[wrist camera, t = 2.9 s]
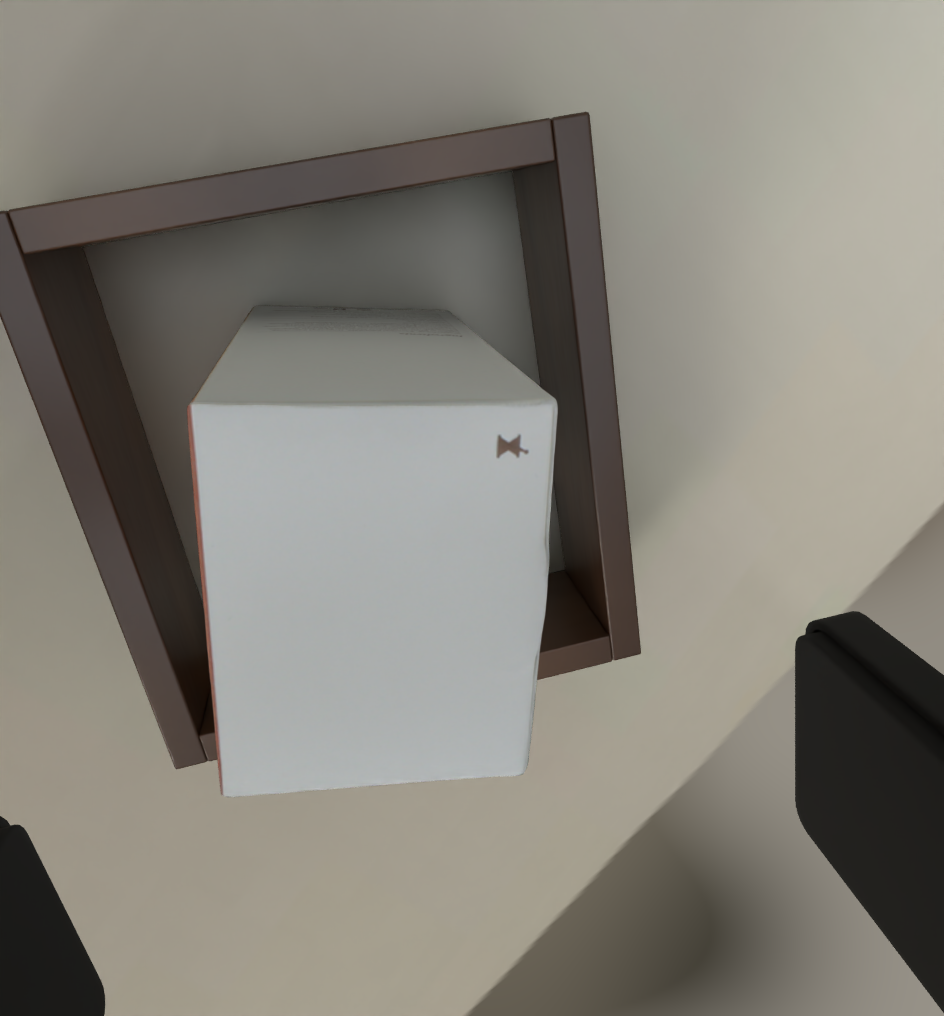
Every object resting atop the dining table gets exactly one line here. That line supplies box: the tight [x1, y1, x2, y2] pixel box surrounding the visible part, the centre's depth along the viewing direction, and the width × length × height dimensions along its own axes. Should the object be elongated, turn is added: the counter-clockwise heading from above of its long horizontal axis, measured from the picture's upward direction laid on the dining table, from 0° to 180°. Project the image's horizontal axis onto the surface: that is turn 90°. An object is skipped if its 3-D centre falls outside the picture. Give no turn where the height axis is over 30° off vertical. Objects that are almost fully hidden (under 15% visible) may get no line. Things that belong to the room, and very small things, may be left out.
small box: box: [187, 306, 558, 797], centre depth 20 cm, size 8×6×13 cm
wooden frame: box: [0, 112, 641, 769], centre depth 24 cm, size 15×16×5 cm
